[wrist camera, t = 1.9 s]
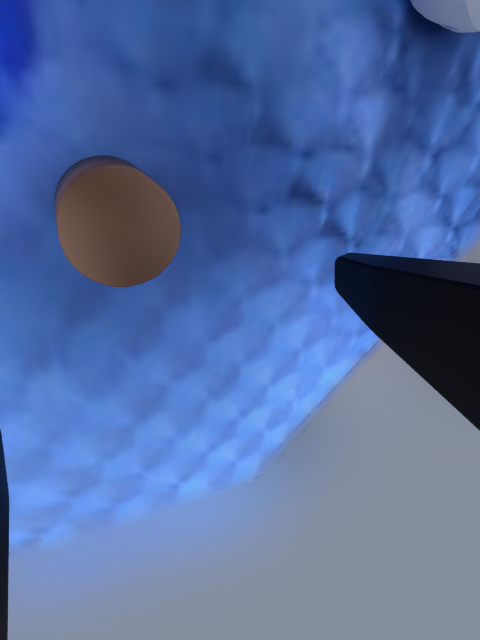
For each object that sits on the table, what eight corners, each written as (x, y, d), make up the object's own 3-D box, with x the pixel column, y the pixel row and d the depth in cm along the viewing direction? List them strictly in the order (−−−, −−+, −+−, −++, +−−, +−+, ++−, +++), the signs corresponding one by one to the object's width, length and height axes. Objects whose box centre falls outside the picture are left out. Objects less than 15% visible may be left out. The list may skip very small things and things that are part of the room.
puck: (141, 144, 17) (163, 155, 14) (169, 239, 20) (191, 265, 17) (34, 170, 16) (33, 189, 13) (80, 268, 19) (88, 302, 16)
